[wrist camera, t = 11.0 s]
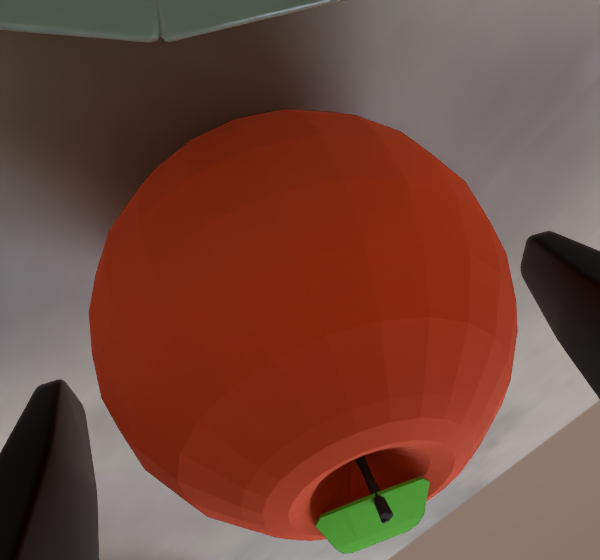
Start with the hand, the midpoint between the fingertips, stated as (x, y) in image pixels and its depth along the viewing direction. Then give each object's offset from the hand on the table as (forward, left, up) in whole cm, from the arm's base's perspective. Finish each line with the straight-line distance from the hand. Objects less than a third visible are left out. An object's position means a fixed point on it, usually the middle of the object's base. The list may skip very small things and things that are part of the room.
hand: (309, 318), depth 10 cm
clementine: (0, 0, -3) cm, 3 cm away
